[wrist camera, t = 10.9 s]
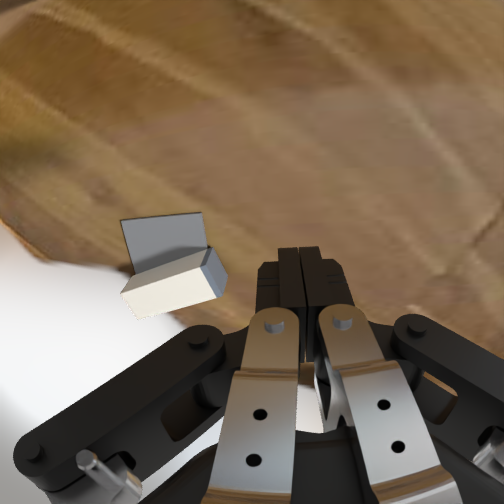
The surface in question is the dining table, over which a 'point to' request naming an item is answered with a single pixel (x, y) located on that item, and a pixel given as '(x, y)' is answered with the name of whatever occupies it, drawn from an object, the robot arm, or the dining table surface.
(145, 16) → the dining table surface
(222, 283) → the block
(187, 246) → the mat
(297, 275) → the robot arm
